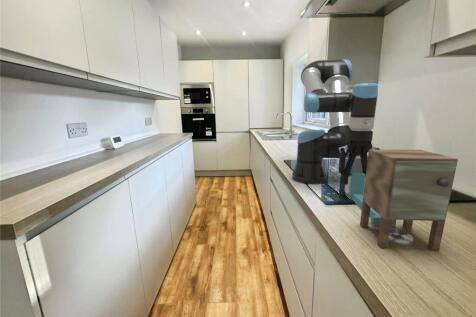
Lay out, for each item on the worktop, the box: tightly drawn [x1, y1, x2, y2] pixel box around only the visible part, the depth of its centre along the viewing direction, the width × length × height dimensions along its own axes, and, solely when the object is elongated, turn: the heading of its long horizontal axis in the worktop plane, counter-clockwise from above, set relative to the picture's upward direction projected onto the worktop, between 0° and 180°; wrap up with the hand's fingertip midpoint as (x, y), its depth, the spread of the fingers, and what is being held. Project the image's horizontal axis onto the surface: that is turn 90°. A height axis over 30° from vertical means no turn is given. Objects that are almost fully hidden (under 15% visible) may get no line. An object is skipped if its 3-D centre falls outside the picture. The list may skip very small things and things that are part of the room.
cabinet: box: [359, 149, 459, 252], centre depth 54 cm, size 13×13×22 cm
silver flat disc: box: [388, 227, 414, 247], centre depth 57 cm, size 6×6×2 cm
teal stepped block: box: [344, 170, 397, 228], centre depth 73 cm, size 23×6×10 cm, turn 175°
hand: (354, 192), depth 82 cm, fingers closed on teal stepped block, 4 cm apart
